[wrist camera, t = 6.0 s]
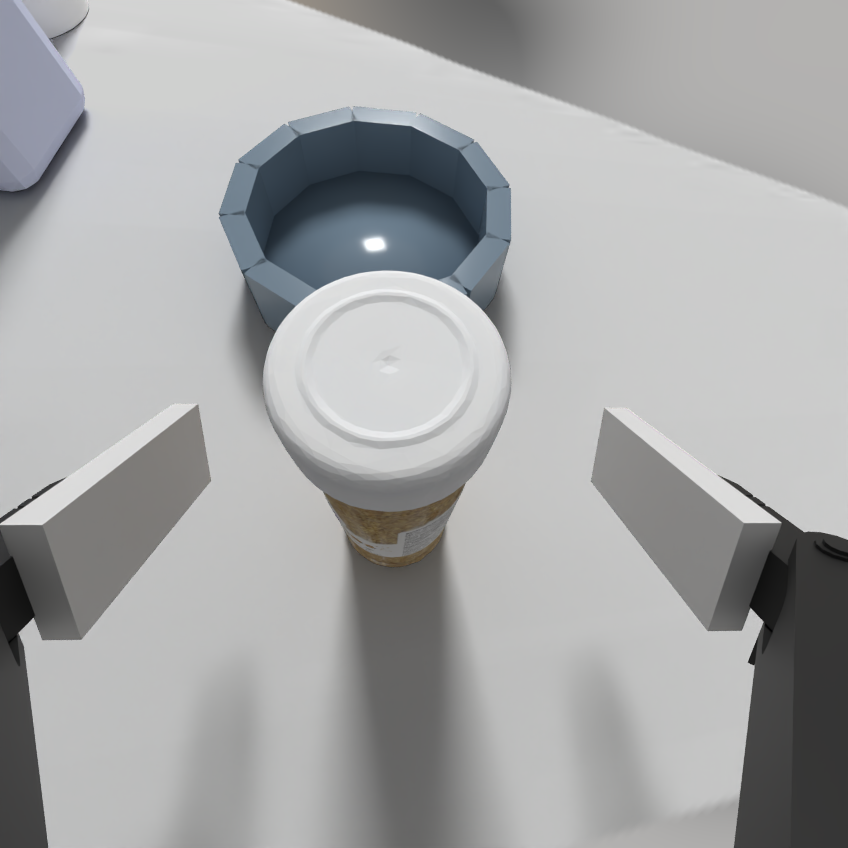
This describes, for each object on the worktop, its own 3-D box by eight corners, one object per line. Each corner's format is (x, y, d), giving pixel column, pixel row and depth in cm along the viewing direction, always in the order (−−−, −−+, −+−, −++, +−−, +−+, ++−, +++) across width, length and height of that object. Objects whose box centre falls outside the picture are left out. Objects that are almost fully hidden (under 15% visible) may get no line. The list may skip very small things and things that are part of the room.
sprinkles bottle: (325, 505, 20) (207, 333, 8) (407, 449, 22) (415, 225, 9) (383, 592, 19) (351, 547, 7) (467, 527, 20) (570, 387, 8)
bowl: (299, 405, 22) (279, 362, 19) (218, 211, 27) (189, 147, 23) (540, 310, 25) (564, 257, 21) (429, 150, 30) (433, 84, 26)
